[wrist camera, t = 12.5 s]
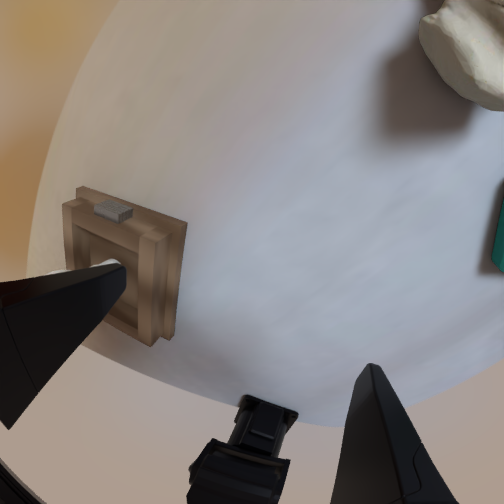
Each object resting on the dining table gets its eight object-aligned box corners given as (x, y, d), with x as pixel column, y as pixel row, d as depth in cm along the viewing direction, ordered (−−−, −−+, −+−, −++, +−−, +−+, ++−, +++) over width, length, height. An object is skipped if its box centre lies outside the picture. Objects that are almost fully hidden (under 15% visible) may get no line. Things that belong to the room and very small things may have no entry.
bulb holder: (173, 335, 30) (157, 355, 27) (86, 288, 32) (67, 301, 29) (187, 221, 24) (164, 236, 21) (83, 185, 26) (57, 193, 23)
